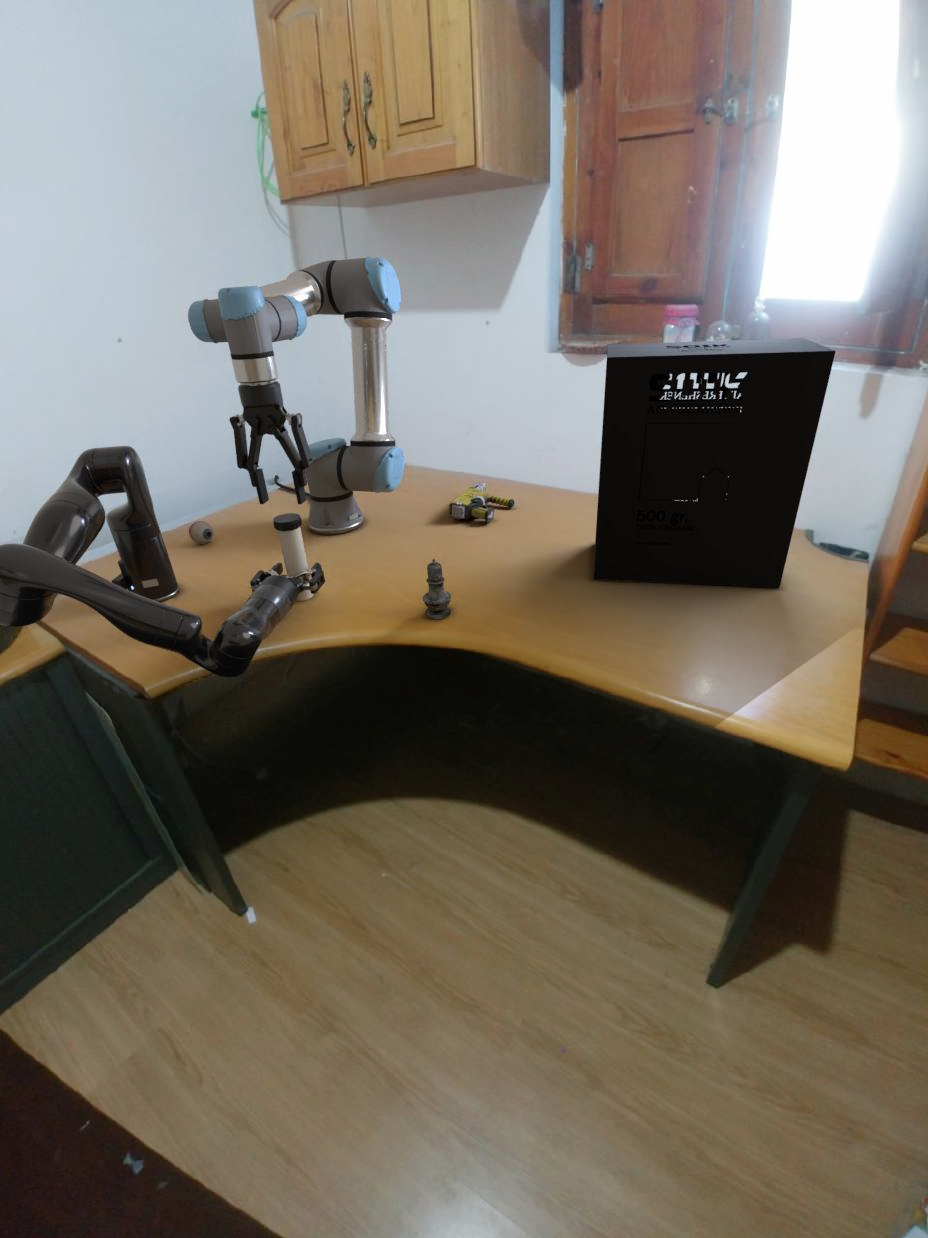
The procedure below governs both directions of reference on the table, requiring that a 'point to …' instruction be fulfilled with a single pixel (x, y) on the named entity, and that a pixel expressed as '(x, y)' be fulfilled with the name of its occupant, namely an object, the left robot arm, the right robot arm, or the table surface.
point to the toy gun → (476, 504)
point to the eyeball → (201, 532)
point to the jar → (294, 556)
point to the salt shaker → (436, 593)
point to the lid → (287, 522)
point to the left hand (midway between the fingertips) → (299, 566)
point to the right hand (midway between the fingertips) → (283, 501)
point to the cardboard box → (706, 459)
